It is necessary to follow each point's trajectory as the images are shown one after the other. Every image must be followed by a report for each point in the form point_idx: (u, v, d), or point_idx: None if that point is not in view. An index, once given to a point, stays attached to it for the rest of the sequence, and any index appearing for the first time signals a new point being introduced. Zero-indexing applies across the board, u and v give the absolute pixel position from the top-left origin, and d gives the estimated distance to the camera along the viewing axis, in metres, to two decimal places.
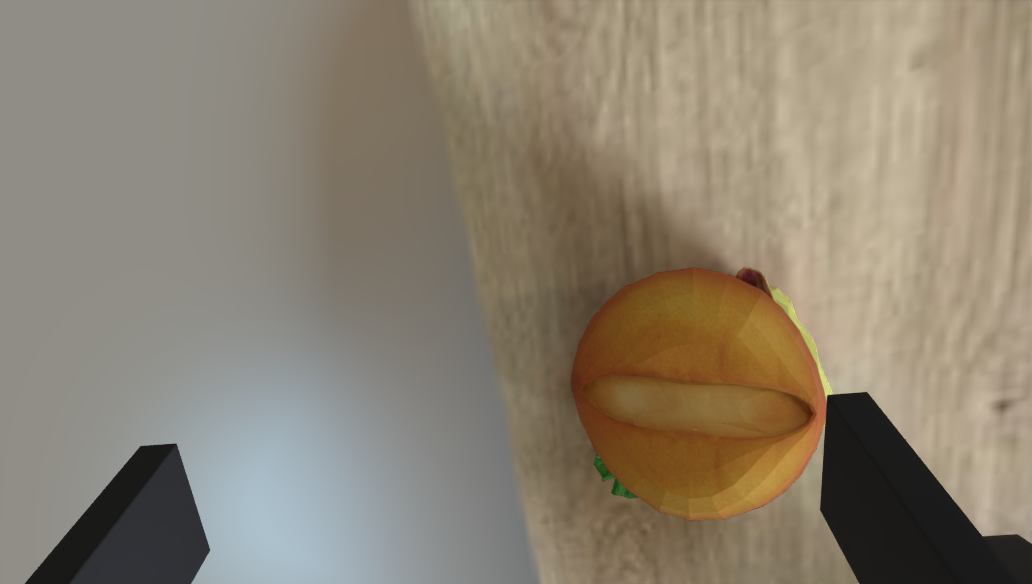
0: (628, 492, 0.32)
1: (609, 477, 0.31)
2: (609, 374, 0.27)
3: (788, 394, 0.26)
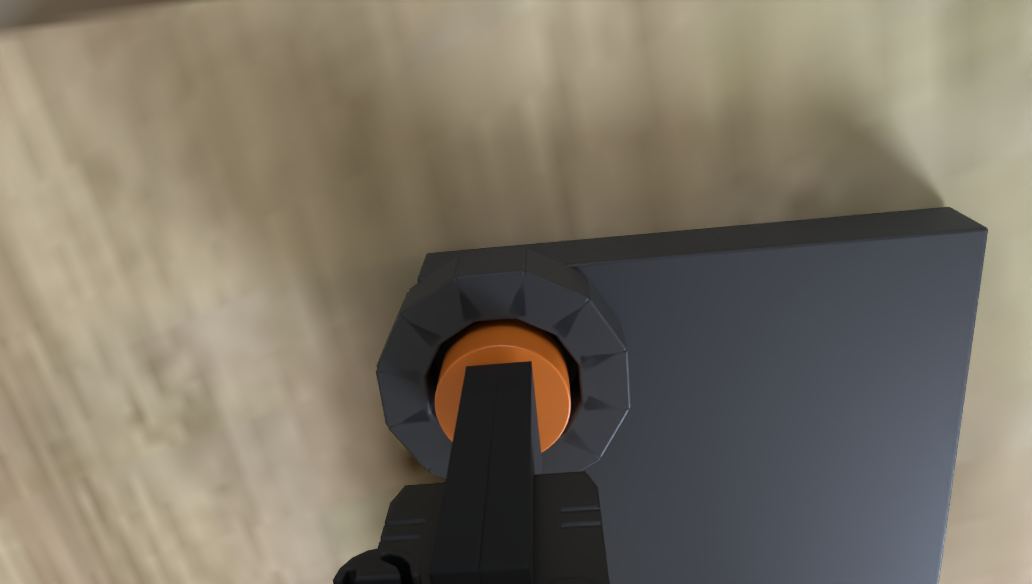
0: None
1: None
2: None
3: None
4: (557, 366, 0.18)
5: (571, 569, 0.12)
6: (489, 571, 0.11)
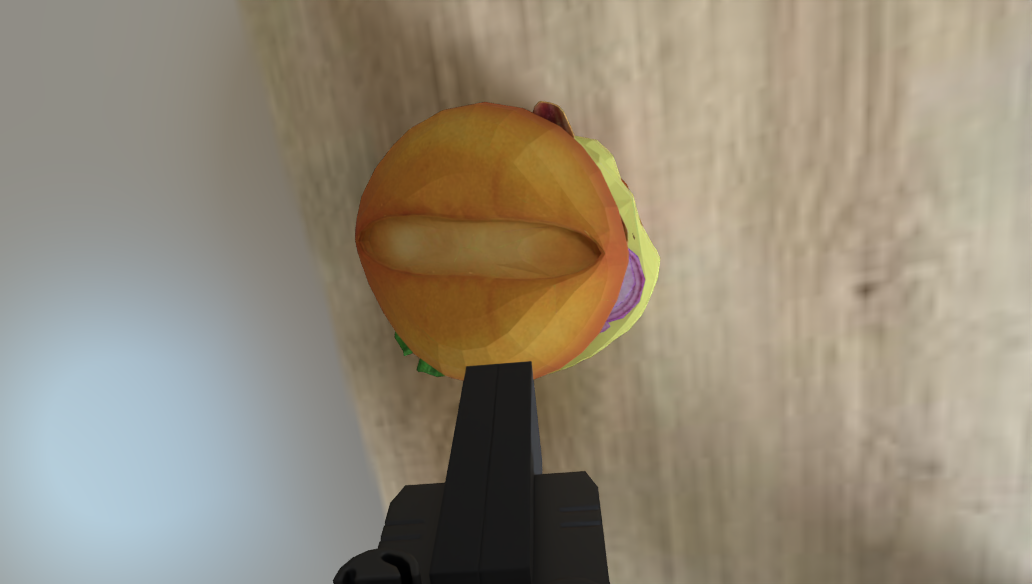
0: (435, 369, 0.28)
1: (411, 351, 0.28)
2: (381, 215, 0.24)
3: (575, 232, 0.23)
4: None
5: (570, 569, 0.12)
6: (489, 571, 0.11)
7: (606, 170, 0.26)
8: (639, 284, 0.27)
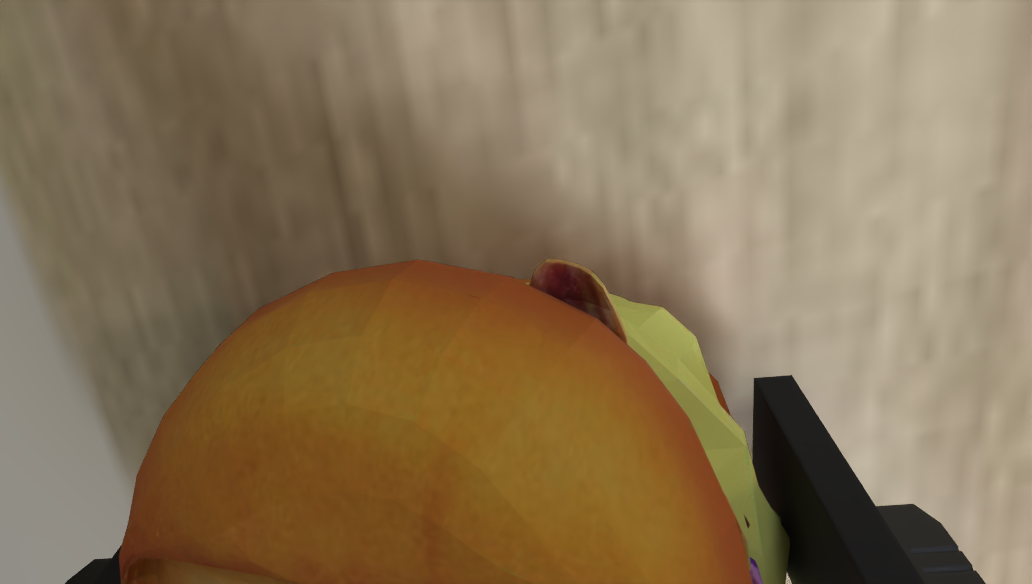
0: None
1: None
2: (159, 556, 0.10)
3: None
4: None
5: None
6: None
7: (692, 393, 0.12)
8: None
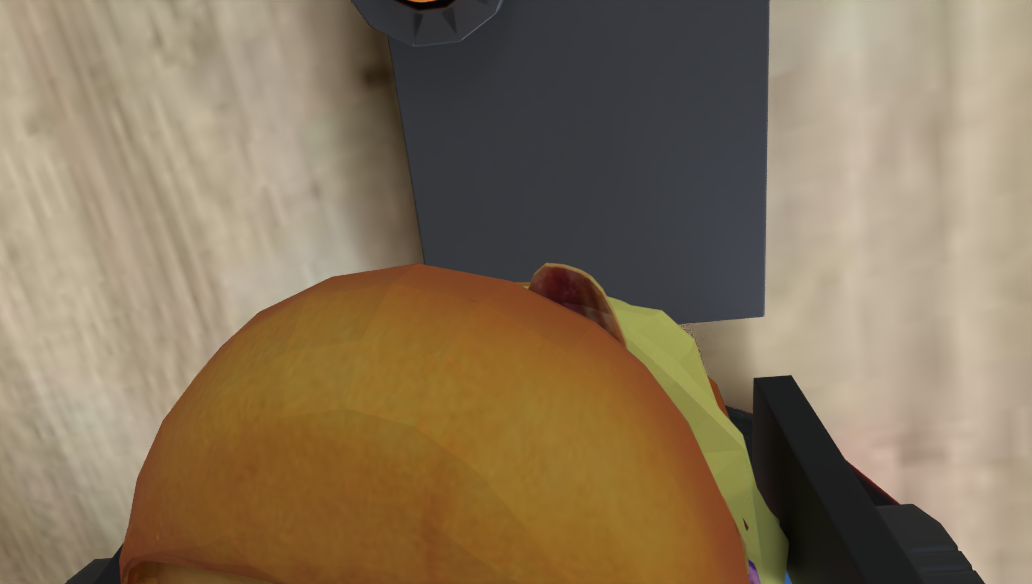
0: None
1: None
2: (159, 559, 0.10)
3: None
4: None
5: None
6: None
7: (691, 396, 0.12)
8: None
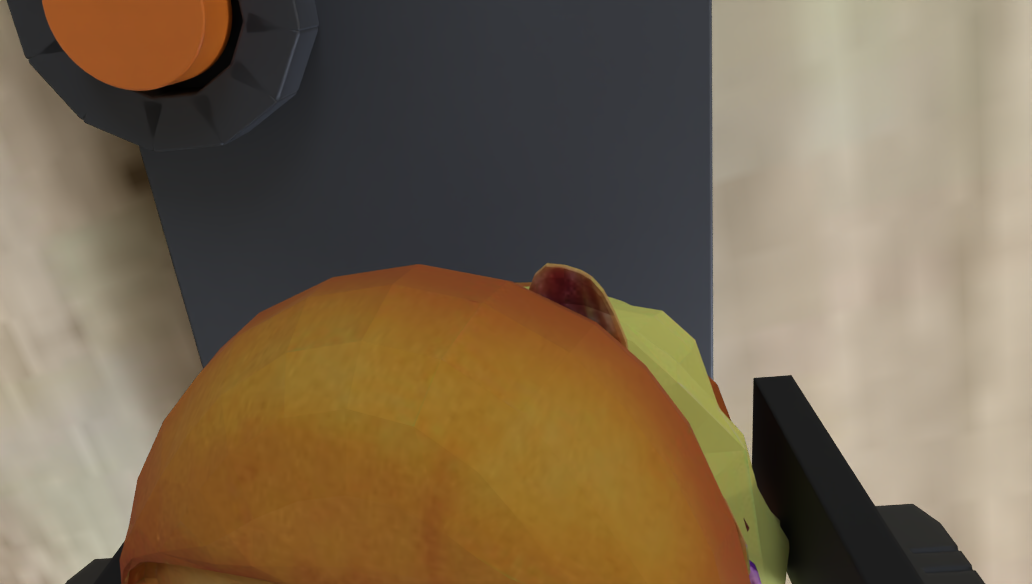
0: None
1: None
2: (160, 560, 0.10)
3: None
4: None
5: None
6: None
7: (692, 396, 0.12)
8: None
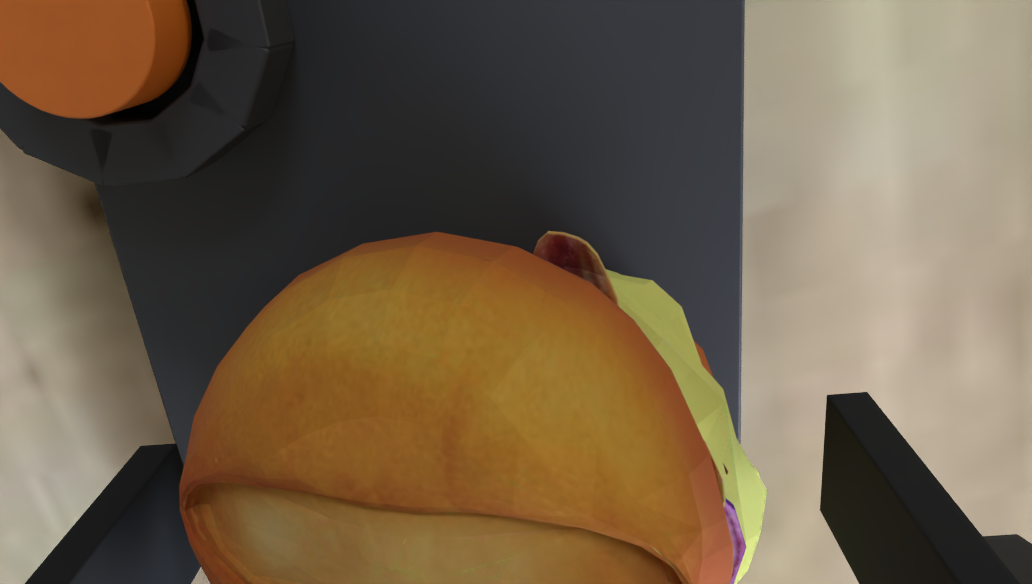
0: None
1: None
2: (217, 480, 0.12)
3: None
4: None
5: None
6: None
7: (676, 352, 0.14)
8: (734, 554, 0.15)
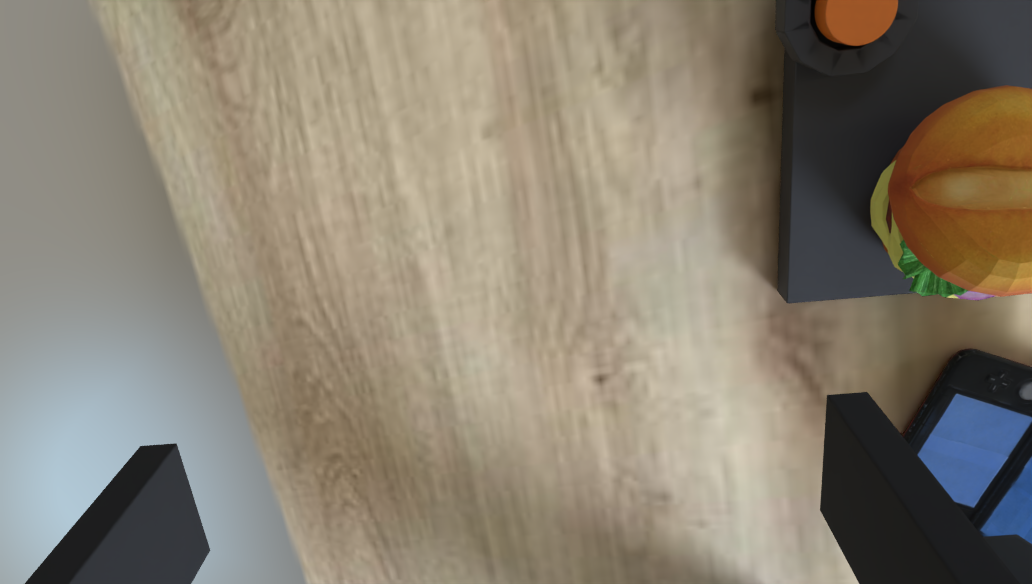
0: (924, 290, 0.37)
1: (911, 275, 0.37)
2: (946, 167, 0.33)
3: None
4: None
5: None
6: None
7: None
8: None
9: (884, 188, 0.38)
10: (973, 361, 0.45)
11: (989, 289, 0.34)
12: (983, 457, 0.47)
